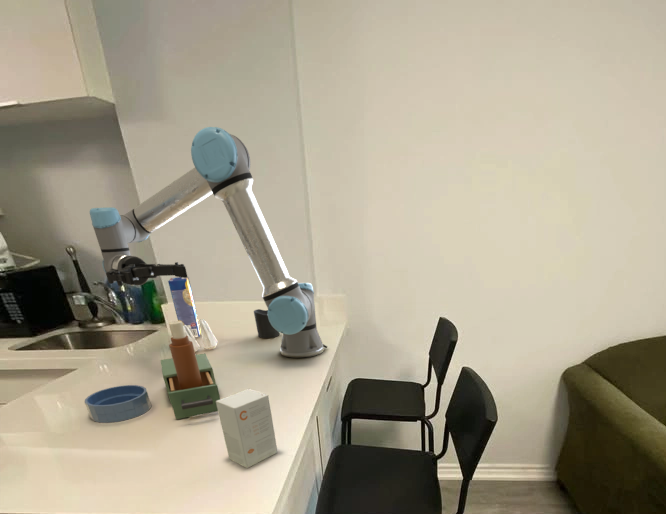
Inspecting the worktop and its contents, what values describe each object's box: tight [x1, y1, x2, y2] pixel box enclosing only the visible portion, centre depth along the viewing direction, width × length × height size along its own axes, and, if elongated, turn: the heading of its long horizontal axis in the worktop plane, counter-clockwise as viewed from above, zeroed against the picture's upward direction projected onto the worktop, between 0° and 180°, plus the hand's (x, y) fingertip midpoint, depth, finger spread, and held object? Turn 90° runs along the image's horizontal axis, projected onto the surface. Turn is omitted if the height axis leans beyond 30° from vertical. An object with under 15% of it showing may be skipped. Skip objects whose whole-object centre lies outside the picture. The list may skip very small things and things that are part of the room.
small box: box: [216, 388, 278, 469], centre depth 85 cm, size 8×6×13 cm
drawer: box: [167, 371, 221, 420], centre depth 108 cm, size 18×11×7 cm, turn 24°
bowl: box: [84, 384, 152, 424], centre depth 110 cm, size 14×14×5 cm
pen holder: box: [253, 308, 281, 339], centre depth 173 cm, size 9×9×10 cm
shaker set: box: [183, 318, 219, 352], centre depth 157 cm, size 12×4×11 cm, turn 111°
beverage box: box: [167, 276, 201, 338], centre depth 176 cm, size 7×11×22 cm, turn 15°
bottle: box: [168, 320, 203, 390], centre depth 106 cm, size 5×5×20 cm
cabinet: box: [160, 352, 217, 404], centre depth 120 cm, size 15×12×8 cm
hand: (159, 275), depth 108 cm, fingers open, 13 cm apart
